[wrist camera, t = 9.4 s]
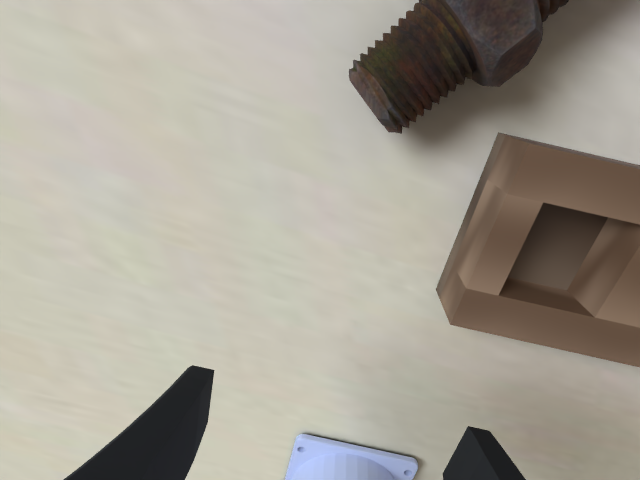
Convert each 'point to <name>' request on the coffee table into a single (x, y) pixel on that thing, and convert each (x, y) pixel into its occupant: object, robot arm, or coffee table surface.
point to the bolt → (447, 53)
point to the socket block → (550, 252)
